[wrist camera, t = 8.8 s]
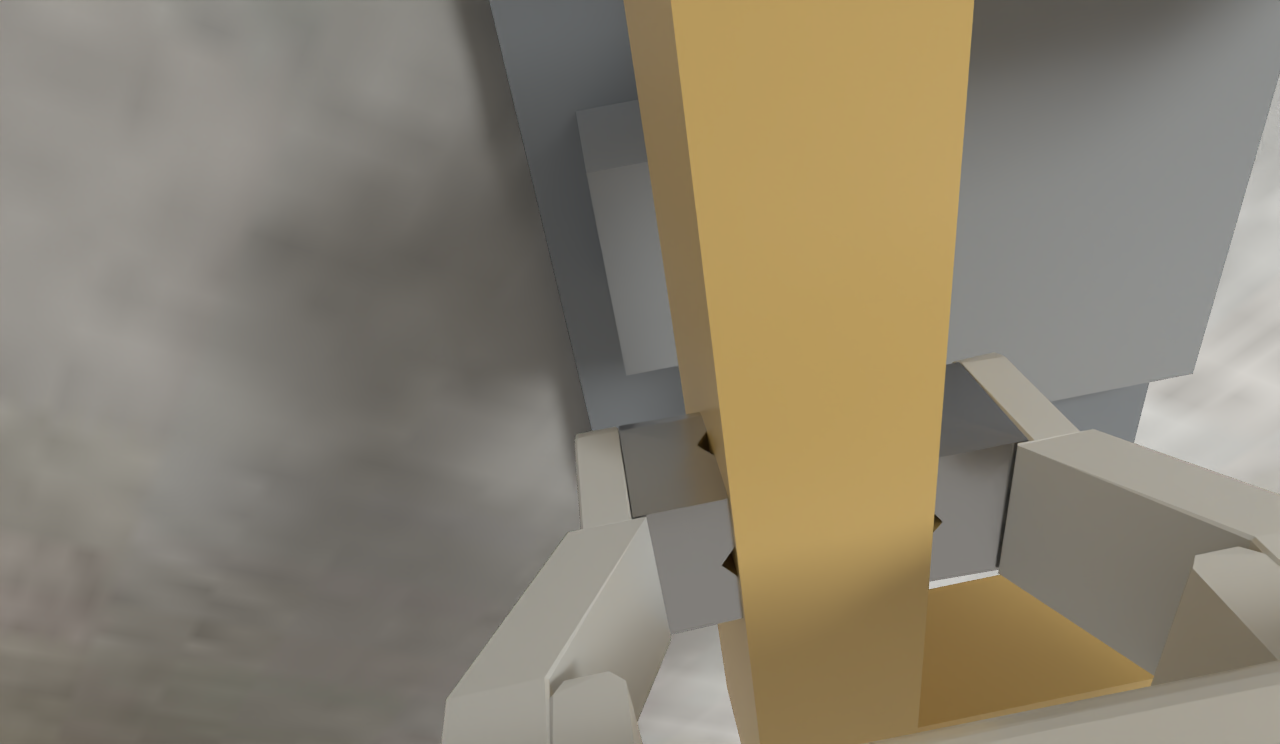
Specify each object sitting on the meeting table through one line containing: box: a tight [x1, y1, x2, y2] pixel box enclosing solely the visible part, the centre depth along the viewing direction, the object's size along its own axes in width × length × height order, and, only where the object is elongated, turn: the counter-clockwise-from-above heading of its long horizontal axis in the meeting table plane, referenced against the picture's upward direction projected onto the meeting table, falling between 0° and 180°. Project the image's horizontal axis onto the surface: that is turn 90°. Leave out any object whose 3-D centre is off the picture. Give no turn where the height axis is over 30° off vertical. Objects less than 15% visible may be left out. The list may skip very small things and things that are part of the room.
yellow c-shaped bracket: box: [623, 0, 1154, 744], centre depth 9 cm, size 12×14×4 cm
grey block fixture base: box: [489, 0, 1280, 443], centre depth 15 cm, size 14×16×6 cm
